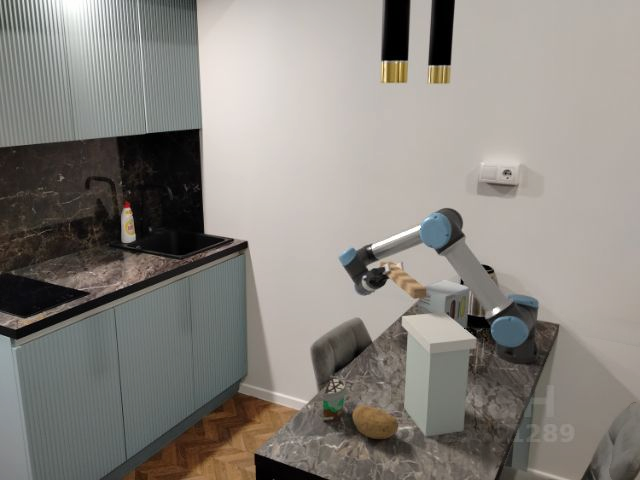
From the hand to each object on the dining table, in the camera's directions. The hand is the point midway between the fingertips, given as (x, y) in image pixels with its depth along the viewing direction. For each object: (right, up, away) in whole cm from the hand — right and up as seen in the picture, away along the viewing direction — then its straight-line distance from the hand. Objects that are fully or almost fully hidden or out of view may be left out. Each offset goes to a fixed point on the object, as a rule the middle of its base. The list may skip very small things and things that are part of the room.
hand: (395, 266), depth 203 cm
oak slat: (+1, -5, -4) cm, 7 cm away
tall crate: (+8, -45, -21) cm, 51 cm away
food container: (-21, -45, -20) cm, 53 cm away
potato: (-10, -48, -30) cm, 58 cm away
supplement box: (+25, -28, +44) cm, 58 cm away
